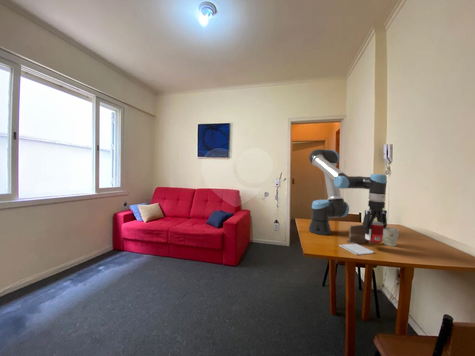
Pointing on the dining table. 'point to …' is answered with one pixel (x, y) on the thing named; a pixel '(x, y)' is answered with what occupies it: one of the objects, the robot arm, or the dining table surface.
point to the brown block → (356, 234)
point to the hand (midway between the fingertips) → (373, 238)
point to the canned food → (376, 232)
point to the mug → (390, 236)
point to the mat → (357, 249)
